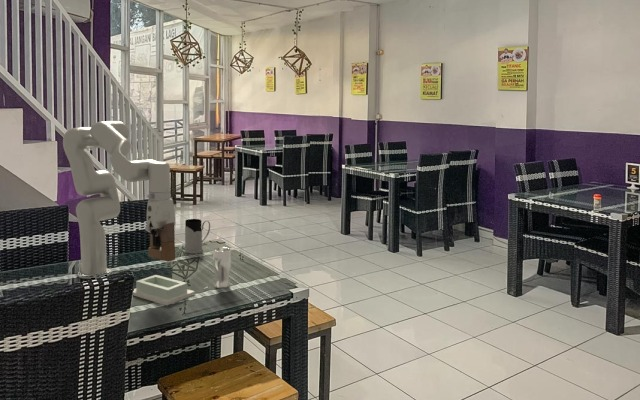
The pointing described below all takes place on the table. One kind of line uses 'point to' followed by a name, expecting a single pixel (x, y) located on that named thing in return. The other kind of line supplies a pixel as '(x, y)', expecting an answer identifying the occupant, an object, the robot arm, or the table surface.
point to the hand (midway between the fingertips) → (161, 244)
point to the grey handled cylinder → (194, 235)
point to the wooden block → (164, 244)
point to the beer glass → (221, 266)
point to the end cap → (162, 289)
